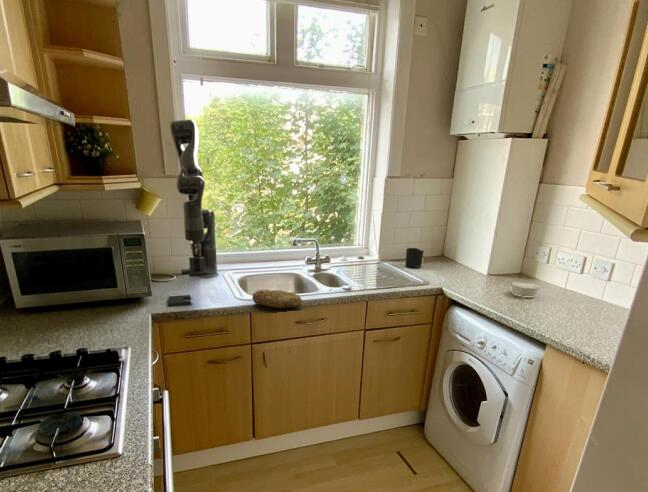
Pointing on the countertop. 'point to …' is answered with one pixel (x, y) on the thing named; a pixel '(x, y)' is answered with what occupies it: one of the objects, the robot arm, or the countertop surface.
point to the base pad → (179, 300)
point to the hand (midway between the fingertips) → (197, 269)
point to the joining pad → (194, 273)
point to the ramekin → (524, 289)
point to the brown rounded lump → (277, 299)
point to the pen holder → (414, 258)
